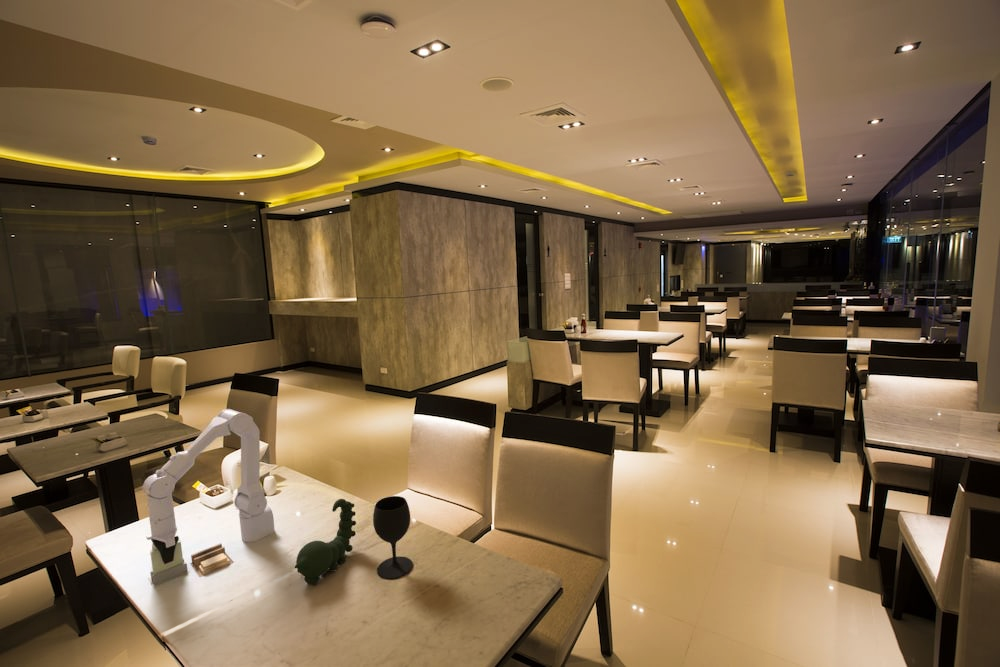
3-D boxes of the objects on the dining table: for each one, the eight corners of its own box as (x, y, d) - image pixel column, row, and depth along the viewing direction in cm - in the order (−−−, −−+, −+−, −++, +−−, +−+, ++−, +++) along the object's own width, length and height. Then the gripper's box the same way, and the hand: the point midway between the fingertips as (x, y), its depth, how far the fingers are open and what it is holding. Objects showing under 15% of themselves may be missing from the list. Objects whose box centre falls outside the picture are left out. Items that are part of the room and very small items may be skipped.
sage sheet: (182, 568, 136) (179, 539, 135) (184, 570, 135) (180, 541, 134) (153, 580, 131) (150, 550, 130) (155, 582, 130) (151, 552, 129)
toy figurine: (338, 550, 147) (280, 595, 124) (337, 491, 147) (279, 525, 123) (364, 554, 145) (310, 601, 121) (363, 494, 144) (309, 529, 120)
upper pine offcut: (223, 556, 140) (223, 552, 140) (227, 560, 138) (227, 557, 138) (200, 565, 136) (200, 562, 136) (204, 570, 134) (204, 567, 133)
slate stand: (185, 566, 139) (184, 555, 138) (190, 574, 135) (189, 563, 134) (148, 581, 132) (147, 570, 132) (153, 590, 128) (151, 579, 128)
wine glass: (420, 562, 137) (416, 498, 135) (398, 583, 128) (394, 515, 125) (391, 554, 141) (387, 492, 139) (369, 574, 132) (364, 508, 130)
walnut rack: (223, 552, 145) (222, 542, 145) (234, 564, 139) (233, 554, 138) (190, 565, 139) (188, 555, 139) (199, 579, 132) (198, 568, 132)
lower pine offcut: (225, 558, 141) (225, 555, 141) (229, 563, 138) (229, 560, 138) (199, 569, 136) (198, 565, 136) (203, 574, 133) (202, 571, 133)
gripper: (139, 513, 133) (145, 557, 135) (150, 530, 124) (156, 578, 125) (168, 504, 138) (173, 546, 140) (181, 520, 129) (187, 565, 130)
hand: (167, 560), depth 133 cm, fingers closed on sage sheet, 2 cm apart
